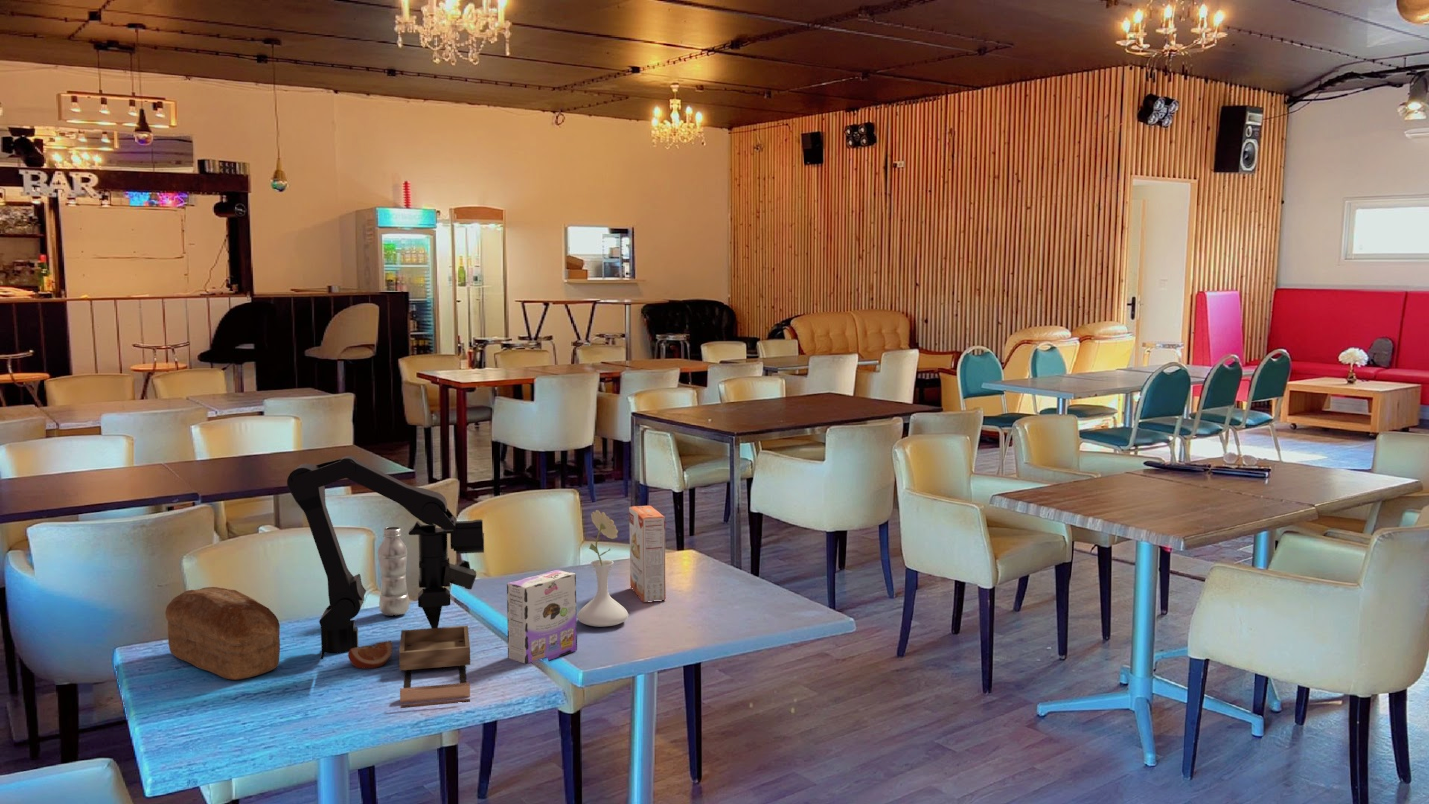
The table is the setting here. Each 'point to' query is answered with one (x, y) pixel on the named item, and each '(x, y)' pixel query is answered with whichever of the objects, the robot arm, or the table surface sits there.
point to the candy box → (542, 616)
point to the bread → (223, 632)
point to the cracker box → (647, 553)
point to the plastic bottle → (393, 573)
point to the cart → (434, 647)
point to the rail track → (434, 691)
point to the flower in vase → (602, 583)
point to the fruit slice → (370, 655)
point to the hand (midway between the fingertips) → (434, 628)
